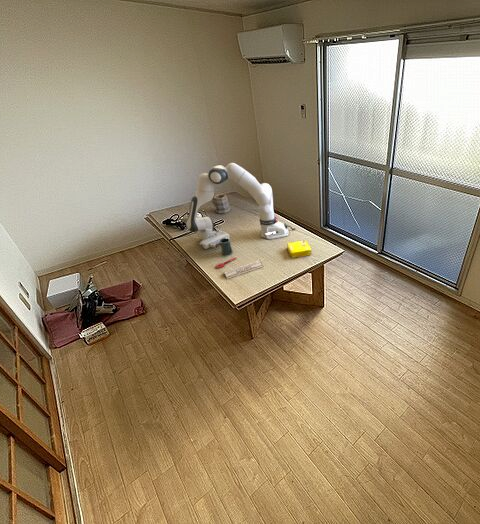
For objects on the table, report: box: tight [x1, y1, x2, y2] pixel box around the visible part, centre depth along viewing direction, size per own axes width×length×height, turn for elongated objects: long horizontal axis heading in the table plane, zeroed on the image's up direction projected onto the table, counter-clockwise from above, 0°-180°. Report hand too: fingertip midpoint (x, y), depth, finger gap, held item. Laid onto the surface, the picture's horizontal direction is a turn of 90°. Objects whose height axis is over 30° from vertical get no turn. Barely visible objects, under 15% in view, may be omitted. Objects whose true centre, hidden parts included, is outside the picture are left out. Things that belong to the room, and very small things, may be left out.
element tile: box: [286, 239, 312, 259], centre depth 203 cm, size 15×15×5 cm
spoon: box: [215, 257, 237, 269], centre depth 191 cm, size 15×4×1 cm, turn 141°
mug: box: [219, 238, 233, 256], centre depth 199 cm, size 10×7×10 cm
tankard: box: [212, 194, 231, 214], centre depth 260 cm, size 20×13×15 cm, turn 58°
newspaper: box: [223, 260, 263, 280], centre depth 184 cm, size 24×7×2 cm, turn 125°
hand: (221, 243), depth 202 cm, fingers open, 8 cm apart
